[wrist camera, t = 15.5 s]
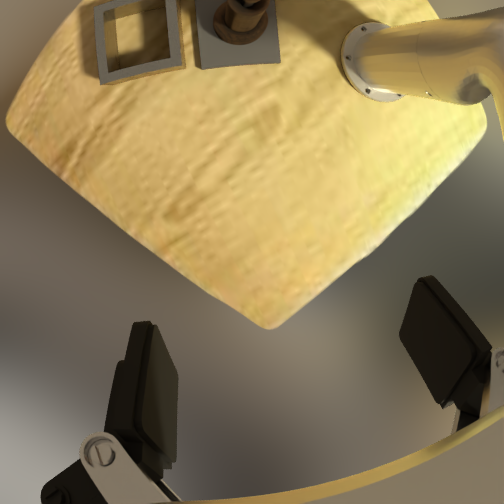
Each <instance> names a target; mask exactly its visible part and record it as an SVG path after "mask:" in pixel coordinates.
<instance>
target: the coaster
mask: <svg viewBox="0 0 504 504" xmlns="http://www.w3.org/2000/svg"><path fill="white" fill-rule="evenodd" d="M226 1H227V0H195V7H196V18H197V28H198V39H199V49H200V58H201V68H202V70H204V69H212V68H220V67H229V66H240V65H253V64H273V63H281V60H280V49H279V39H278V28H277V19H276V9H275V0H270V3H269V6H268V8H267V9H266V12H267V15H268V25H267V27H266V29H265V31H264V33H263V34H262V35H261V36H260V37H259V38H258V39H257V40H255V41H254V42H252V43H249V44H246V45H233V44H229V43H226V42H224V41H223V40H221V39H220V38H219V37H218V36H217V35H216V33H215V31H214V28H213V17H214V14H215V12H216V10H217V8H218V7H219V6H220V5H221V4H223V3H224V2H226Z"/></svg>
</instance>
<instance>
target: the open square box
mask: <svg viewBox="0 0 504 504" xmlns="http://www.w3.org/2000/svg"><path fill="white" fill-rule="evenodd" d="M162 7H166V14H167V26H168V37H169V47H170V57H171V58H167V59H162V60H158V61H153V62H148V63H144V64H140V65H136V66H132V67H128V68H124V69H121V70H120V66H119V57H118V47H117V35H116V21H115V19H118V18H122V17H125V16H129V15H133V14H136V13H140V12H144V11H149V10H153V9H157V8H162ZM94 24H95V40H96V51H97V62H98V71H99V79H100V85H115V84H118V83H122V82H126V81H130V80H133V79H138V78H142V77H146V76H150V75H155V74H160V73H165V72H170V71H175V70H181V69H186V63H185V53H184V43H183V33H182V23H181V11H180V0H113V1H110V2H107V3H104V4H101V5H98V6H95V7H94Z"/></svg>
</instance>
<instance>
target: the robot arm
mask: <svg viewBox="0 0 504 504" xmlns="http://www.w3.org/2000/svg"><path fill="white" fill-rule="evenodd" d="M361 29H362V30H361ZM346 57H347V58H348V59H346ZM341 62H342V66H343V69H344V72H345V75H346V77H347V78H348V80H349V82H350V83H351V84H352V85H353V87H354V88H355V89H356V90H357V91H358V92H360V93H361V94H362V95H364V96H365V97H367V98H369V99H372V100H374V101H380V102H393V101H396V100H399V99H401V98H402V97H404V96H405V95H409V96H416V97H422V98H428V99H433V100H438V101H443V102H448V103H453V104H458V105H473V104H477V103H479V102H481V101H482V100H484V99H486V98H487V97H488V96H489V95H490V94H492V96H493V99H494V102H495V106H496V110H497V113H498V116H499V120H500V125H501V130H502V134H503V140H504V7H499V8H495V9H491V10H487V11H484V12H479V13H475V14H469V15H464V16H458V17H450V18H443V19H435V20H429V21H422V22H416V23H411V24H405V25H400V26H395V27H390V26H388V25H385V24H382V23H377V22H369V23H364V24H361V25H358V26H356V27H354V28H353V29H352V30H351V31H350V32H349V33H348V34H347V35H346V37H345V39H344V41H343V44H342V48H341ZM365 89H366V92H365ZM399 336H400V340H401V342H402V343H403V345H404V347H405V348H406V350H407V352H408V353H409V355H410V357H411V359H412V360H413V362H414V364H415V365H416V367H417V369H418V371H419V372H420V374H421V376H422V378H423V380H424V381H425V383H426V385H427V387H428V389H429V390H430V392H431V394H432V396H433V398H434V400H435V401H436V403H438V404H440V405H441V407H442V409H444V408H446V407H448V406H450V405H452V404H453V403H455V405H456V412H455V417H454V421H453V426H452V431H451V435H450V436H448V437H446V438H444V439H442V440H441V441H438V442H436V443H434V444H432V445H430V446H428V447H426V448H424V449H421V450H419V451H417V452H415V453H412V454H410V455H408V456H405V457H403V458H401V459H398V460H396V461H393V462H390V463H388V464H385V465H382V466H380V467H377V468H374V469H371V470H368V471H365V472H362V473H360V474H356V475H353V476H349V477H346V478H343V479H340V480H336V481H332V482H328V483H324V484H320V485H316V486H311V487H307V488H302V489H297V490H292V491H287V492H281V493H274V494H268V495H260V496H253V497H243V498H234V499H222V500H206V501H205V500H203V501H182V500H181V499H180V498H179V497H178V496H177V495H176V494H175V493H174V492H173V491H172V490H171V489H170V488H169V486H168V485H167V484H166V483H164V481H163V480H162V478H163V469H172V462H176V457H177V456H176V454H177V452H176V451H177V450H176V449H177V444H176V443H177V401H178V374H177V370H176V368H175V366H174V364H173V362H172V359H171V357H170V355H169V352H168V350H167V348H166V345H165V343H164V341H163V338H162V336H161V334H160V331H159V329H158V326H157V325H152V323H151V322H150V321H143V322H134V323H133V325H132V330H131V333H130V337H129V342H128V346H127V351H126V355H125V360H121V361H119V362H118V364H117V367H116V370H115V375H114V380H113V384H112V389H111V394H110V399H109V404H108V410H107V415H106V421H105V427H104V432H95V433H93V434H91V435H89V436H88V437H86V438H85V439H84V441H83V442H82V444H81V447H80V451H79V452H80V459H79V460H77V461H76V462H75V463H73V464H72V465H70V467H68V468H66V469H65V470H64V471H62V472H61V473H60V474H58V475H57V476H55V477H54V478H53V479H51V480H50V481H48V482H47V483H46V484H45V485H44V486H43V489H42V490H41V503H42V504H504V347H501V348H497V349H496V350H494V352H493V353H491V351H490V350H491V349H492V346H491V345H490V344H489V342H488V341H487V339H486V338H485V337H484V335H483V334H482V333H481V332H480V330H479V329H478V328H477V326H476V325H475V324H474V323H473V321H472V320H471V319H470V318H469V316H468V315H467V314H466V313H465V311H464V310H463V309H462V308H461V307H460V305H459V304H458V303H457V302H456V301H455V300H454V298H453V297H452V296H451V295H450V294H449V293H448V291H447V290H446V289H445V288H444V287H443V286H442V285H441V284H440V282H439V281H438V280H437V279H436V278H435V277H434V276H432V275H430V276H426V277H421V278H419V279H418V280H417V282H416V283H415V284H414V287H413V290H412V294H411V297H410V301H409V304H408V307H407V311H406V314H405V317H404V320H403V323H402V326H401V329H400V332H399Z"/></svg>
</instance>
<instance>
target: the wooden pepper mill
mask: <svg viewBox="0 0 504 504" xmlns="http://www.w3.org/2000/svg"><path fill="white" fill-rule="evenodd" d="M269 3H270V0H227V1H226V2H224V3H223V4H221V5H220V6H219V7H218V8H217V10H216V12H215V14H214V17H213V28H214V31H215V33H216V35H217V36H218V37H219V38H220V39H221V40H223V41H224V42H226V43H229V44H233V45H246V44H249V43H252V42H254V41H255V40H257V39H258V38H259V37H260V36H261V35H262V34H263V33H264V31H265V29H266V27H267V25H268V15H267V12H266V9H267V8H268V6H269Z"/></svg>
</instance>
